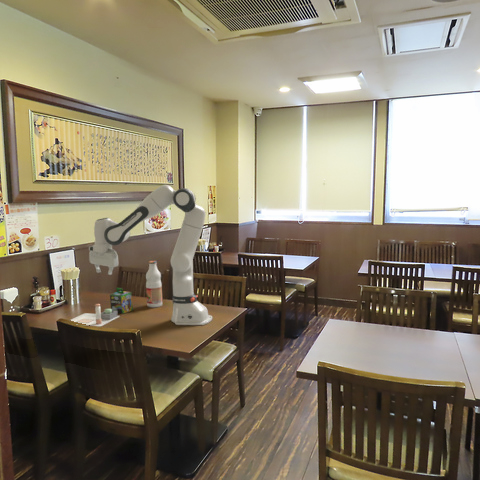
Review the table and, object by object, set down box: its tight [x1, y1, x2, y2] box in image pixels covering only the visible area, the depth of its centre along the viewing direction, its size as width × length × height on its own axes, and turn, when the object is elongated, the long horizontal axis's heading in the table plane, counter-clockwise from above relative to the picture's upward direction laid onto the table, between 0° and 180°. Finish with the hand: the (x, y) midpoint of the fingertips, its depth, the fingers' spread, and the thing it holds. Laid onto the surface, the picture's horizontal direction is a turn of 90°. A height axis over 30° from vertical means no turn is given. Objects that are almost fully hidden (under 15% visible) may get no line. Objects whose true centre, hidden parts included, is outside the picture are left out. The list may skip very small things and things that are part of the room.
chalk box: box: [109, 287, 134, 315], centre depth 230 cm, size 9×9×15 cm
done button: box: [104, 307, 112, 314], centre depth 218 cm, size 4×4×3 cm
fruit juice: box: [145, 260, 163, 308], centre depth 241 cm, size 9×9×28 cm
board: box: [70, 310, 121, 327], centre depth 216 cm, size 24×18×4 cm
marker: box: [94, 303, 102, 324], centre depth 208 cm, size 3×3×10 cm
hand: (104, 273), depth 209 cm, fingers open, 8 cm apart
